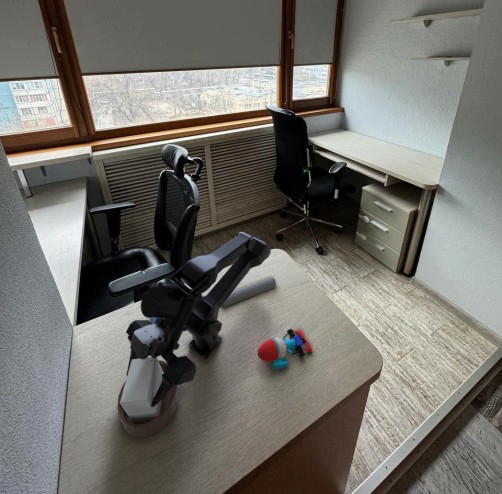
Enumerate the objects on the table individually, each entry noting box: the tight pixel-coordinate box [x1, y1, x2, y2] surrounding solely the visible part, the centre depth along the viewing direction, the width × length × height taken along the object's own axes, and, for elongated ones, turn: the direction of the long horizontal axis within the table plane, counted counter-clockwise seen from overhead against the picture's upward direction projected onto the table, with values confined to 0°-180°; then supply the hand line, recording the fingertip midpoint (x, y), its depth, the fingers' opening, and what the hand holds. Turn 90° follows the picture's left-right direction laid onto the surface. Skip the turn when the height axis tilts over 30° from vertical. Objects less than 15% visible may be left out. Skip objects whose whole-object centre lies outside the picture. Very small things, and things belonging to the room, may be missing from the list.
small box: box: [120, 356, 164, 424], centre depth 59 cm, size 8×6×10 cm
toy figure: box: [257, 328, 313, 371], centre depth 71 cm, size 8×5×15 cm
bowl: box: [117, 359, 180, 438], centre depth 61 cm, size 13×13×4 cm
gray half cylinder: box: [222, 276, 277, 307], centre depth 89 cm, size 4×20×2 cm, turn 115°
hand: (139, 390), depth 58 cm, fingers open, 9 cm apart
